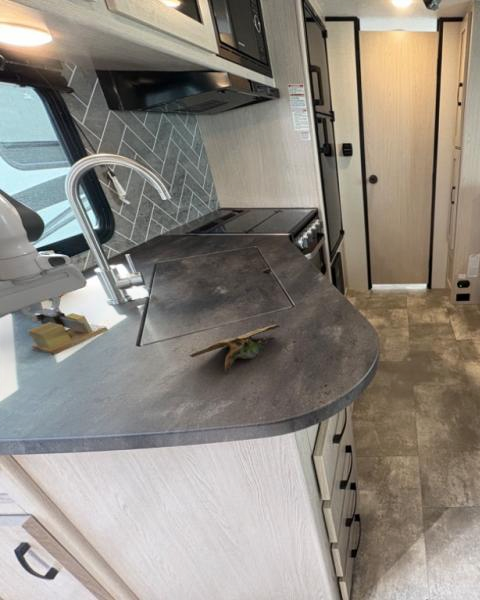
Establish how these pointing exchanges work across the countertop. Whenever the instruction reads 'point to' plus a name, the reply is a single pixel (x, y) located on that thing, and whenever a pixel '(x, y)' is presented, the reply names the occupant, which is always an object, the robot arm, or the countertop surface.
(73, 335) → the butter board
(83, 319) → the butter slice
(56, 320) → the knife
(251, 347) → the dried leafy seed pod
